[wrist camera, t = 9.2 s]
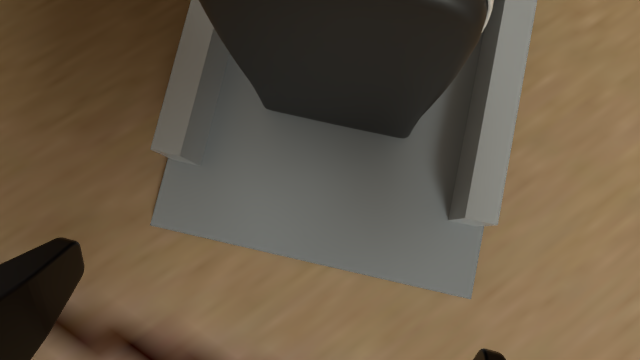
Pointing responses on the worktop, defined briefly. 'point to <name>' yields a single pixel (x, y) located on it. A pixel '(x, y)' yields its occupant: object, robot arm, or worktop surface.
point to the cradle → (343, 164)
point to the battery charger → (351, 55)
